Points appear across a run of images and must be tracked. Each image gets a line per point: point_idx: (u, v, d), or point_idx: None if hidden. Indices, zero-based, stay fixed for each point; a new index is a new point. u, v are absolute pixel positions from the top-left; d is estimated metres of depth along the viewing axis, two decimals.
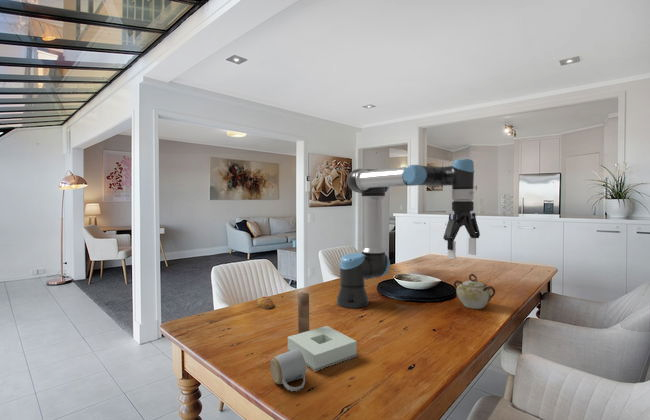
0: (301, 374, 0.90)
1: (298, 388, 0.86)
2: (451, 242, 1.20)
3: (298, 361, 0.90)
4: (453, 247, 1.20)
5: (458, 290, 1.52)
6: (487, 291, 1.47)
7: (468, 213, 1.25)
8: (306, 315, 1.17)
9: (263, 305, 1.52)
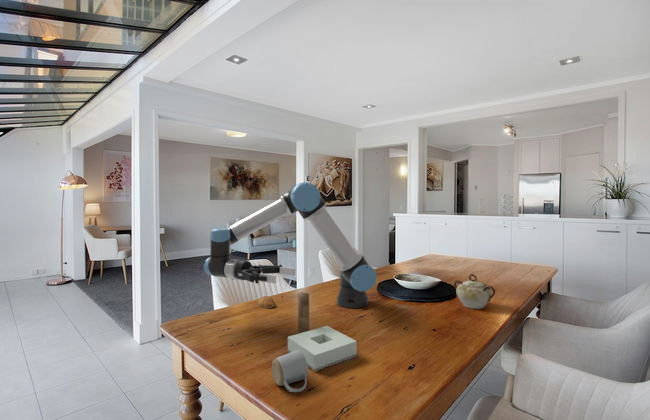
0: (303, 376, 0.89)
1: (300, 390, 0.85)
2: None
3: (299, 363, 0.89)
4: None
5: (458, 290, 1.52)
6: (487, 291, 1.47)
7: None
8: (306, 315, 1.17)
9: (265, 305, 1.53)
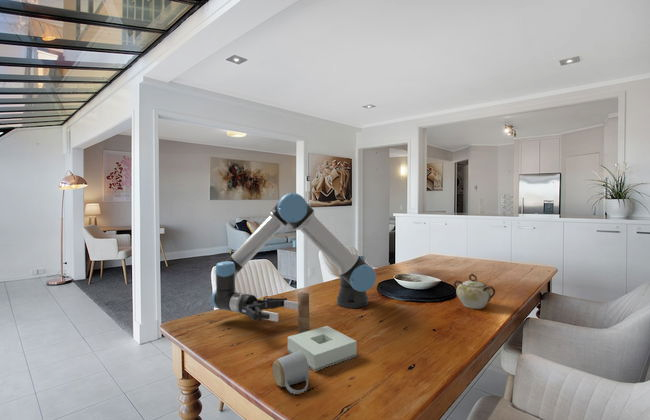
0: (304, 377, 0.89)
1: (301, 391, 0.85)
2: None
3: (301, 364, 0.89)
4: None
5: (458, 290, 1.52)
6: (487, 291, 1.47)
7: None
8: (306, 315, 1.17)
9: None
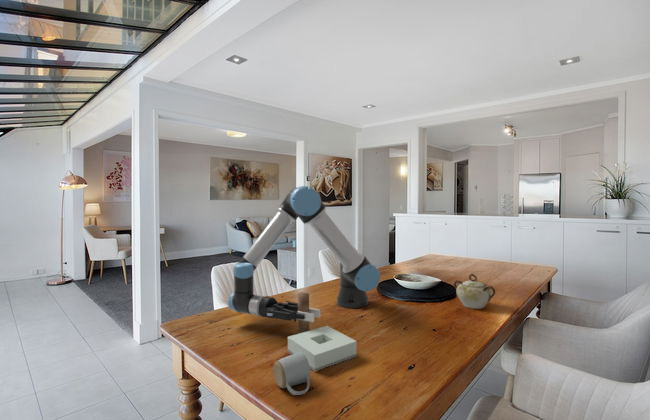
0: (305, 378, 0.88)
1: (302, 392, 0.84)
2: None
3: (302, 365, 0.88)
4: None
5: (458, 290, 1.52)
6: (487, 291, 1.47)
7: None
8: None
9: None
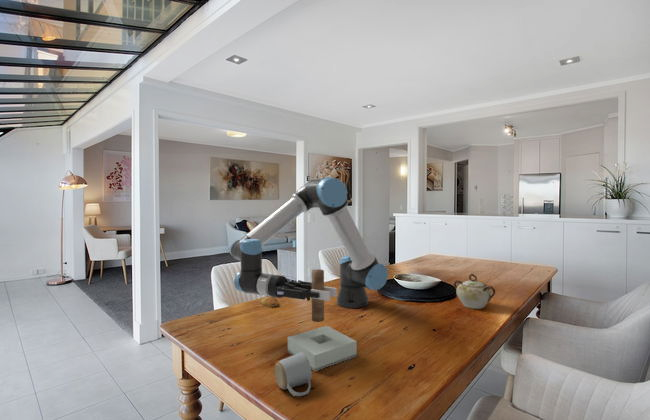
0: (306, 379, 0.87)
1: (303, 394, 0.83)
2: None
3: (303, 366, 0.87)
4: None
5: (458, 290, 1.52)
6: (487, 291, 1.47)
7: None
8: None
9: (269, 304, 1.54)
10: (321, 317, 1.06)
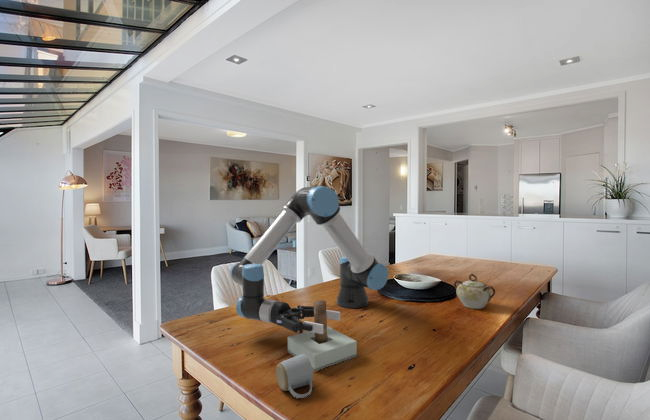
0: (308, 380, 0.87)
1: (305, 395, 0.83)
2: None
3: (304, 367, 0.87)
4: None
5: (458, 290, 1.52)
6: (487, 291, 1.47)
7: None
8: (323, 326, 1.05)
9: None
10: None
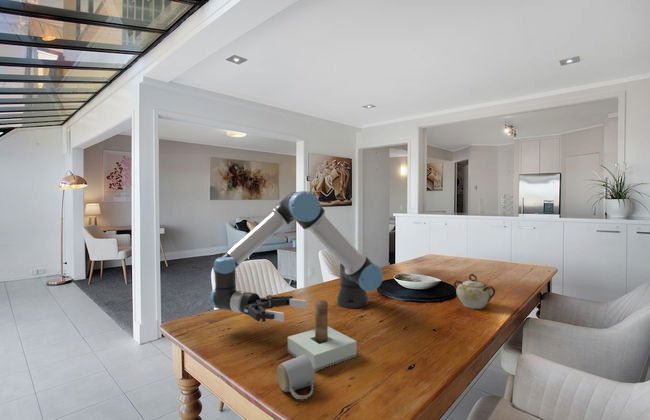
0: (309, 382, 0.86)
1: (306, 397, 0.82)
2: None
3: (305, 368, 0.86)
4: None
5: (458, 290, 1.52)
6: (487, 291, 1.47)
7: None
8: (324, 326, 1.05)
9: None
10: None
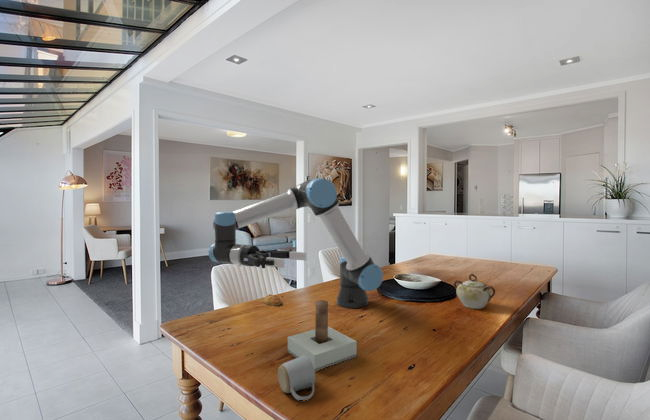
0: (310, 382, 0.86)
1: (307, 398, 0.82)
2: None
3: (306, 369, 0.86)
4: None
5: (458, 290, 1.52)
6: (487, 291, 1.47)
7: None
8: (324, 326, 1.05)
9: (272, 302, 1.56)
10: None
